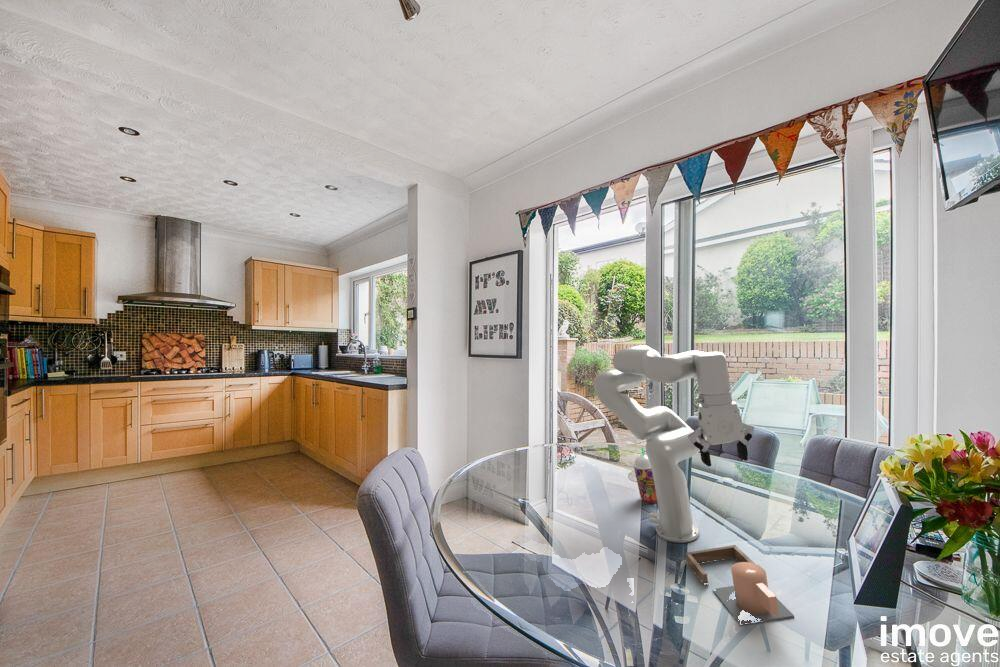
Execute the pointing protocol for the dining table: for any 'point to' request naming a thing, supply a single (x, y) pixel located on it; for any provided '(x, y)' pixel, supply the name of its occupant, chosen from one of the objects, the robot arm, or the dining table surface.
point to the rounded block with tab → (753, 589)
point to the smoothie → (645, 478)
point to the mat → (735, 611)
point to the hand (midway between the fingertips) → (725, 461)
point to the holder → (713, 558)
